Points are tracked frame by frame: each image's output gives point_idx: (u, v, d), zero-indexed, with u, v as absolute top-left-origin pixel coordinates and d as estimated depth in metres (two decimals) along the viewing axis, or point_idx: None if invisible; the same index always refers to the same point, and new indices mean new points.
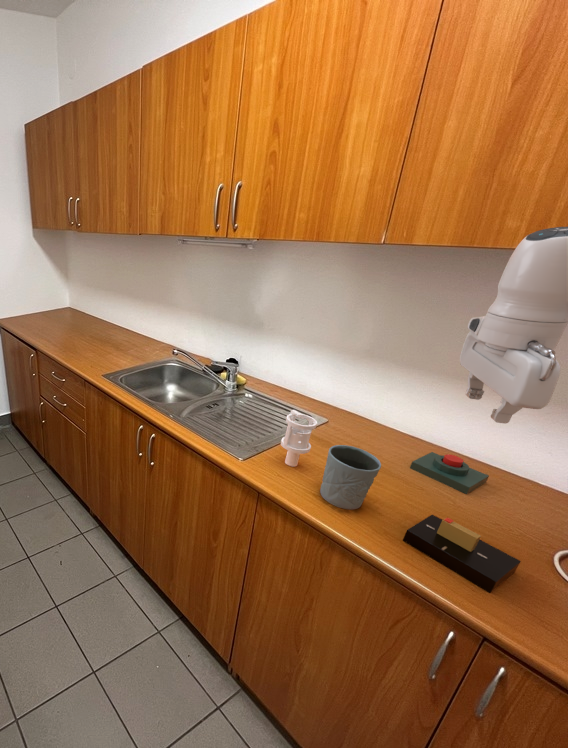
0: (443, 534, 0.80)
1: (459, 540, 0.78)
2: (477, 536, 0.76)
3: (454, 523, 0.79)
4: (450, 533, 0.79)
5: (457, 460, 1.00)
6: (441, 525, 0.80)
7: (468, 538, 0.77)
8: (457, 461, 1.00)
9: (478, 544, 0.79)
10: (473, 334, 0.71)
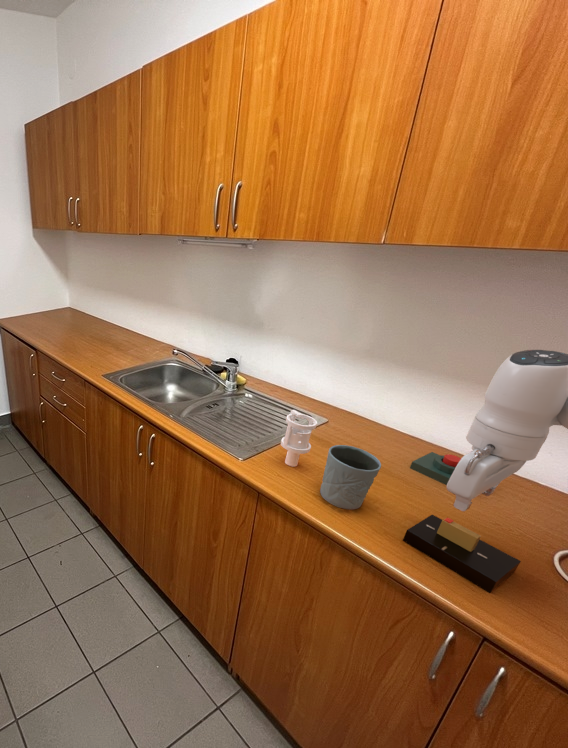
0: (443, 534, 0.80)
1: (459, 540, 0.78)
2: (477, 536, 0.76)
3: (454, 523, 0.79)
4: (450, 533, 0.79)
5: (457, 460, 1.00)
6: (441, 525, 0.80)
7: (468, 538, 0.77)
8: (457, 461, 1.00)
9: (478, 544, 0.79)
10: None
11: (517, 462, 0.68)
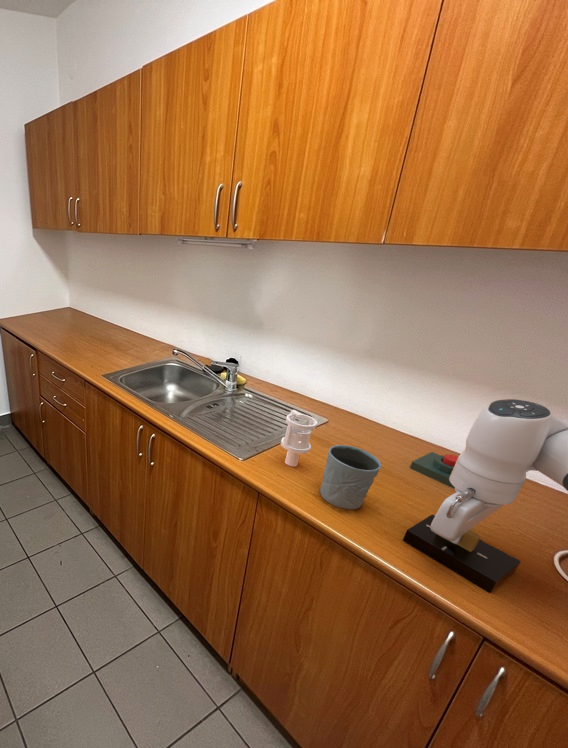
0: None
1: None
2: (477, 536, 0.76)
3: None
4: None
5: None
6: None
7: (468, 538, 0.77)
8: None
9: (478, 544, 0.79)
10: None
11: (497, 505, 0.72)
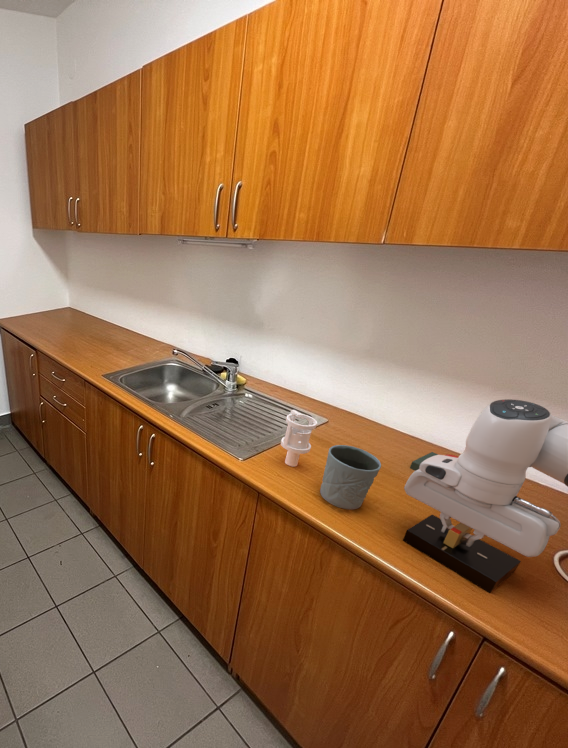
0: (456, 544, 0.78)
1: None
2: None
3: (457, 529, 0.78)
4: (460, 539, 0.78)
5: None
6: (457, 539, 0.77)
7: (468, 531, 0.78)
8: None
9: (478, 544, 0.79)
10: (431, 477, 0.79)
11: None
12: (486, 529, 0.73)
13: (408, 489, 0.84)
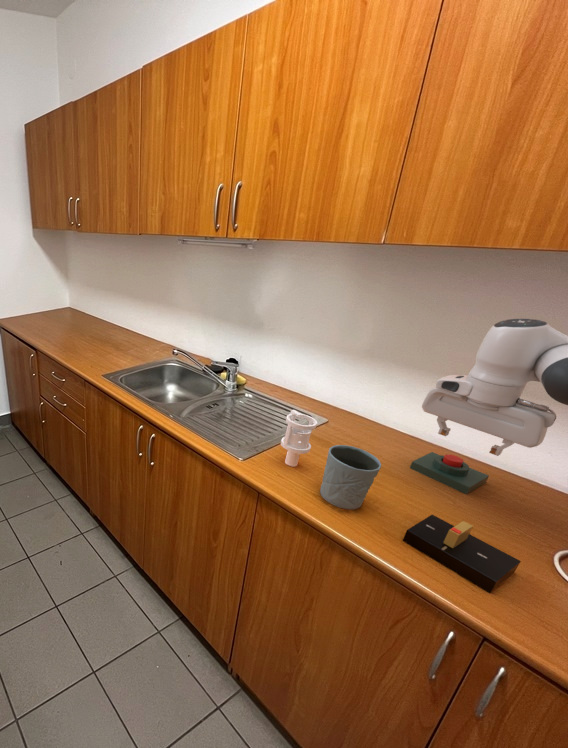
0: (456, 544, 0.78)
1: (463, 538, 0.79)
2: (468, 523, 0.79)
3: (457, 529, 0.78)
4: (460, 539, 0.78)
5: (457, 460, 1.00)
6: (457, 539, 0.77)
7: (468, 531, 0.78)
8: (457, 461, 1.00)
9: (478, 544, 0.79)
10: (446, 392, 0.92)
11: None
12: (494, 429, 0.87)
13: (425, 406, 0.97)
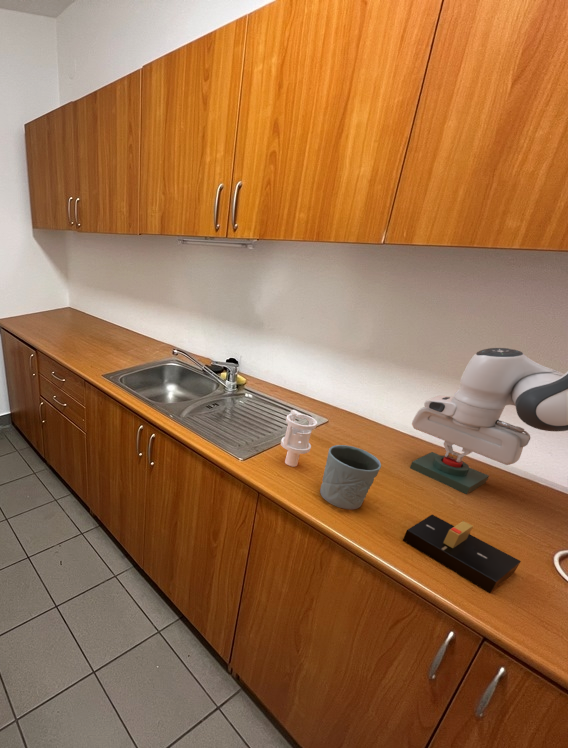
0: (456, 544, 0.78)
1: (463, 538, 0.79)
2: (468, 523, 0.79)
3: (457, 529, 0.78)
4: (460, 539, 0.78)
5: (456, 462, 1.00)
6: (457, 539, 0.77)
7: (468, 531, 0.78)
8: (456, 463, 1.00)
9: (478, 544, 0.79)
10: (433, 411, 1.01)
11: None
12: (475, 447, 0.96)
13: (415, 424, 1.06)
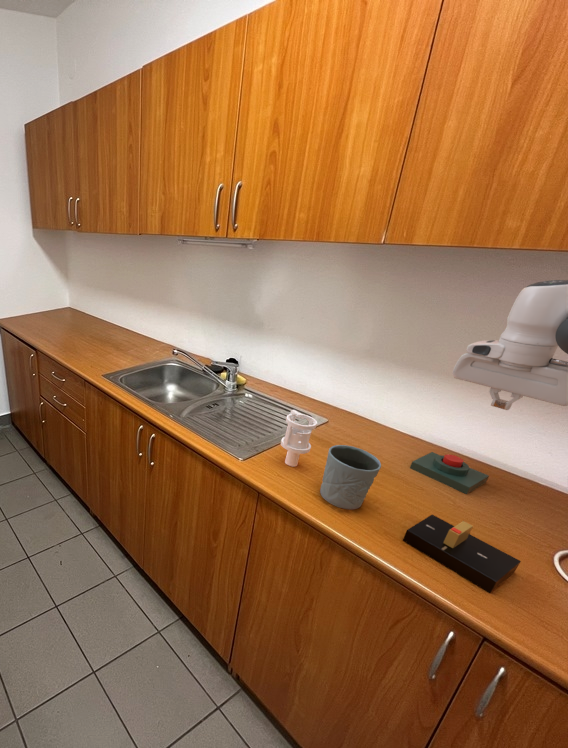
0: (456, 544, 0.78)
1: (463, 538, 0.79)
2: (468, 523, 0.79)
3: (457, 529, 0.78)
4: (460, 539, 0.78)
5: (457, 460, 1.00)
6: (457, 539, 0.77)
7: (468, 531, 0.78)
8: (457, 461, 1.00)
9: (478, 544, 0.79)
10: (477, 356, 0.94)
11: None
12: (527, 390, 0.88)
13: (456, 372, 0.99)
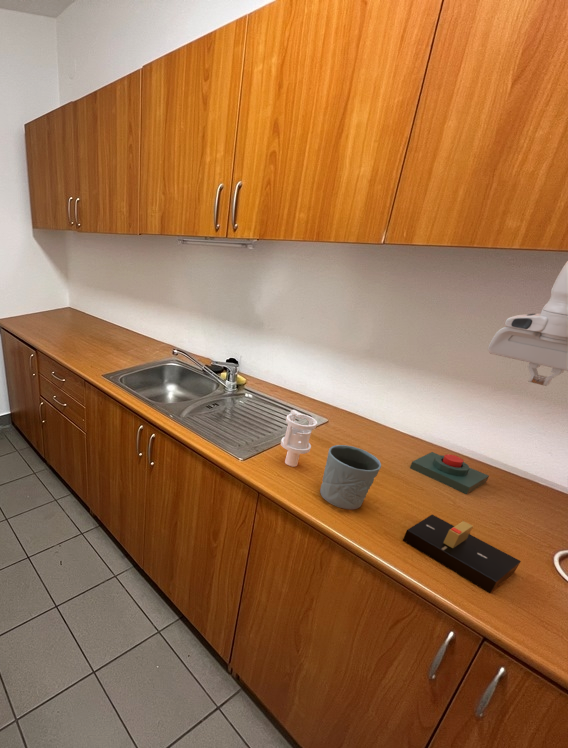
0: (456, 544, 0.78)
1: (463, 538, 0.79)
2: (468, 523, 0.79)
3: (457, 529, 0.78)
4: (460, 539, 0.78)
5: (457, 460, 1.00)
6: (457, 539, 0.77)
7: (468, 531, 0.78)
8: (457, 461, 1.00)
9: (478, 544, 0.79)
10: (516, 330, 0.91)
11: None
12: None
13: (492, 348, 0.95)
